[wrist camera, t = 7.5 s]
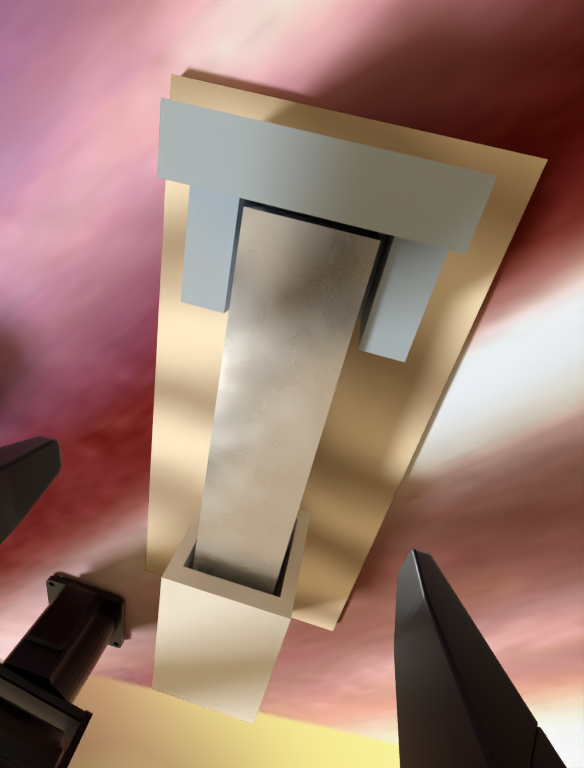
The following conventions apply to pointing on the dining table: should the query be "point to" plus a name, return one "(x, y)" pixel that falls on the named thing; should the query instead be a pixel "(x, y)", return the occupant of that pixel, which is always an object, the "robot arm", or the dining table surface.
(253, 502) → the extension bar
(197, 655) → the sleeve
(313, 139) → the socket
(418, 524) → the dining table surface
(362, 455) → the base board
